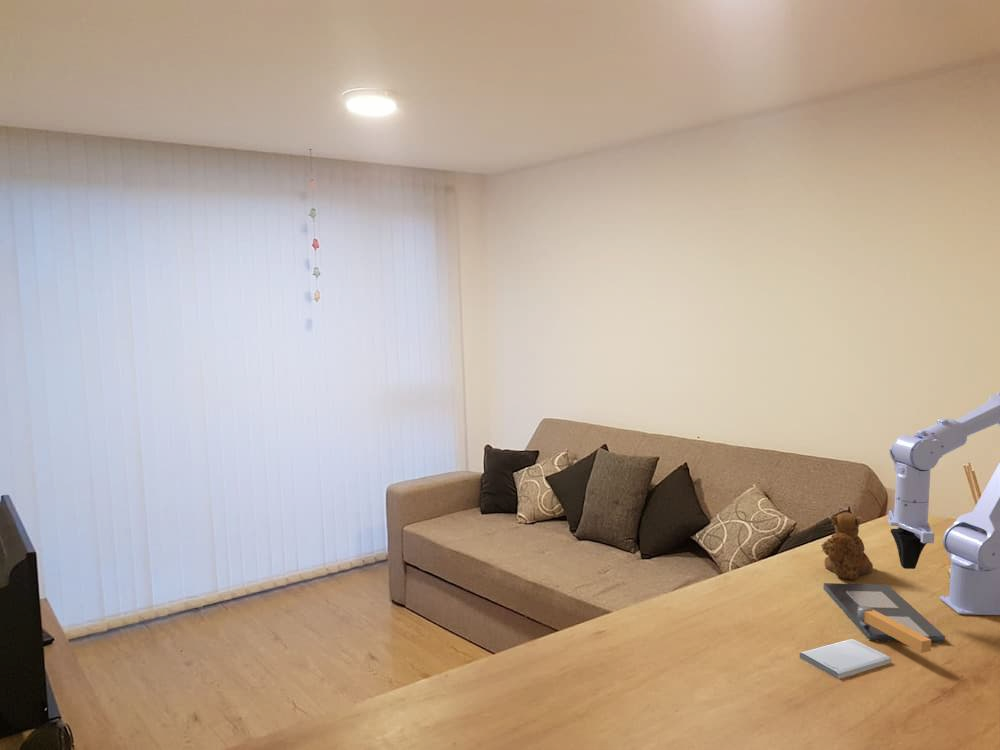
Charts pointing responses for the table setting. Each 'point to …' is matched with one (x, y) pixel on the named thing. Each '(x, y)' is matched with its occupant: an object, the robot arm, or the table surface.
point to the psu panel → (880, 609)
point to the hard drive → (845, 658)
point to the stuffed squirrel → (846, 548)
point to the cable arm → (894, 629)
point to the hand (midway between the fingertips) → (908, 567)
